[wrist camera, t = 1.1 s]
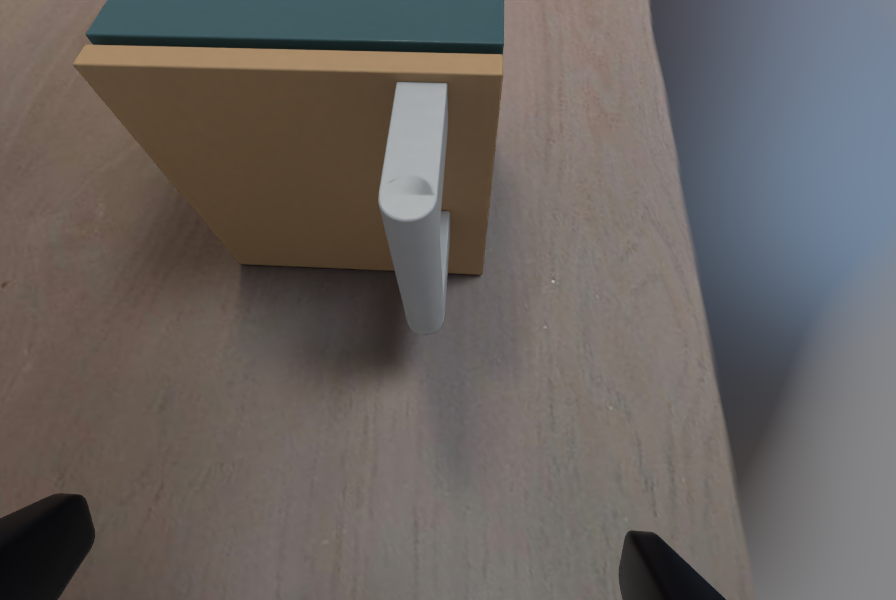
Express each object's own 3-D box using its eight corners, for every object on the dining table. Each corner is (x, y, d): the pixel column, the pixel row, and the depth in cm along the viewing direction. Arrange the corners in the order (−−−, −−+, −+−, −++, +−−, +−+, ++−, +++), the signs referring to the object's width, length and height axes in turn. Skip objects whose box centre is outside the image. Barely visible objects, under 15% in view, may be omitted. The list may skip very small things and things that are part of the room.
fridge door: (479, 368, 22) (502, 217, 11) (211, 354, 23) (-16, 197, 12) (482, 259, 25) (503, 53, 14) (243, 249, 26) (84, 43, 15)
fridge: (482, 256, 25) (503, 43, 14) (246, 247, 26) (84, 34, 15) (486, 127, 30) (505, -114, 19) (284, 121, 30) (182, -116, 19)
